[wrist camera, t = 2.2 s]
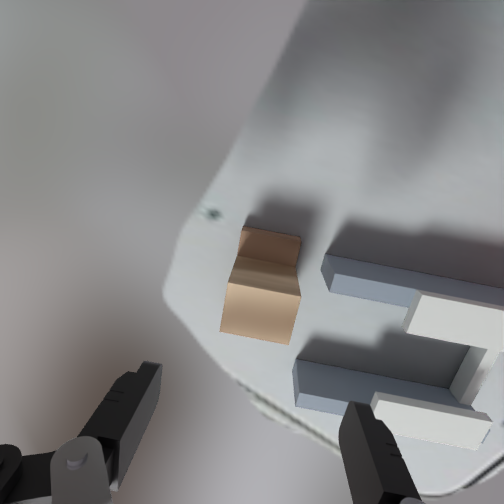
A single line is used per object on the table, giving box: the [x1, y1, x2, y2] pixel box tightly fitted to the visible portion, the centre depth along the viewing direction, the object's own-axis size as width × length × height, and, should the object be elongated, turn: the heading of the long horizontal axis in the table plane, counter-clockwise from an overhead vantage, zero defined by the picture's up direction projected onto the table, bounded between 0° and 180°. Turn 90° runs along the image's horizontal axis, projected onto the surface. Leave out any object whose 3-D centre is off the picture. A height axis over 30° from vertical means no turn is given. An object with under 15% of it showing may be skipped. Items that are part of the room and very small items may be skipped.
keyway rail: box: [292, 254, 504, 451], centre depth 23 cm, size 12×15×5 cm
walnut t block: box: [220, 226, 301, 345], centre depth 22 cm, size 8×4×6 cm, turn 170°
